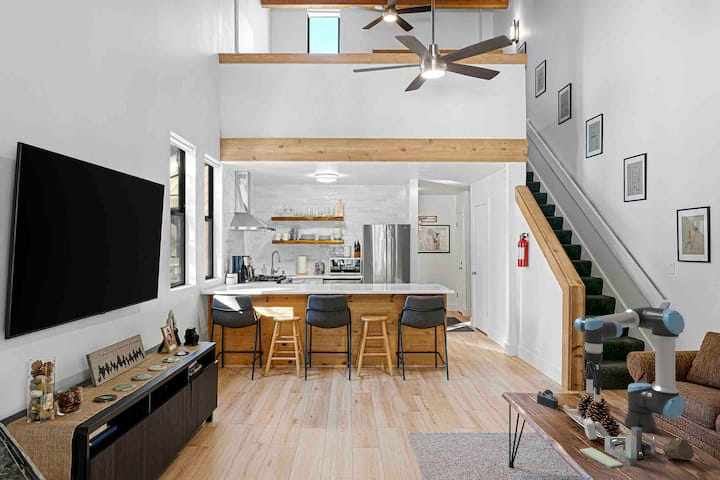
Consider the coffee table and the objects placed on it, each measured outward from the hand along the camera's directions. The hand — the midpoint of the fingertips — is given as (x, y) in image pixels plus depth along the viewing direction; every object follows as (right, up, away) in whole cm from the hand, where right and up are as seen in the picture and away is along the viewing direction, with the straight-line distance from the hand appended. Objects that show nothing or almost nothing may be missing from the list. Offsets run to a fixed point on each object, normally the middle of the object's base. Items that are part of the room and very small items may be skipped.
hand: (593, 397), depth 224 cm
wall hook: (+10, -26, +13) cm, 31 cm away
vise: (+17, -25, -4) cm, 31 cm away
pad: (-1, -25, -8) cm, 26 cm away
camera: (+5, -27, +64) cm, 70 cm away
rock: (+33, -25, -9) cm, 42 cm away
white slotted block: (+8, -25, -8) cm, 28 cm away
